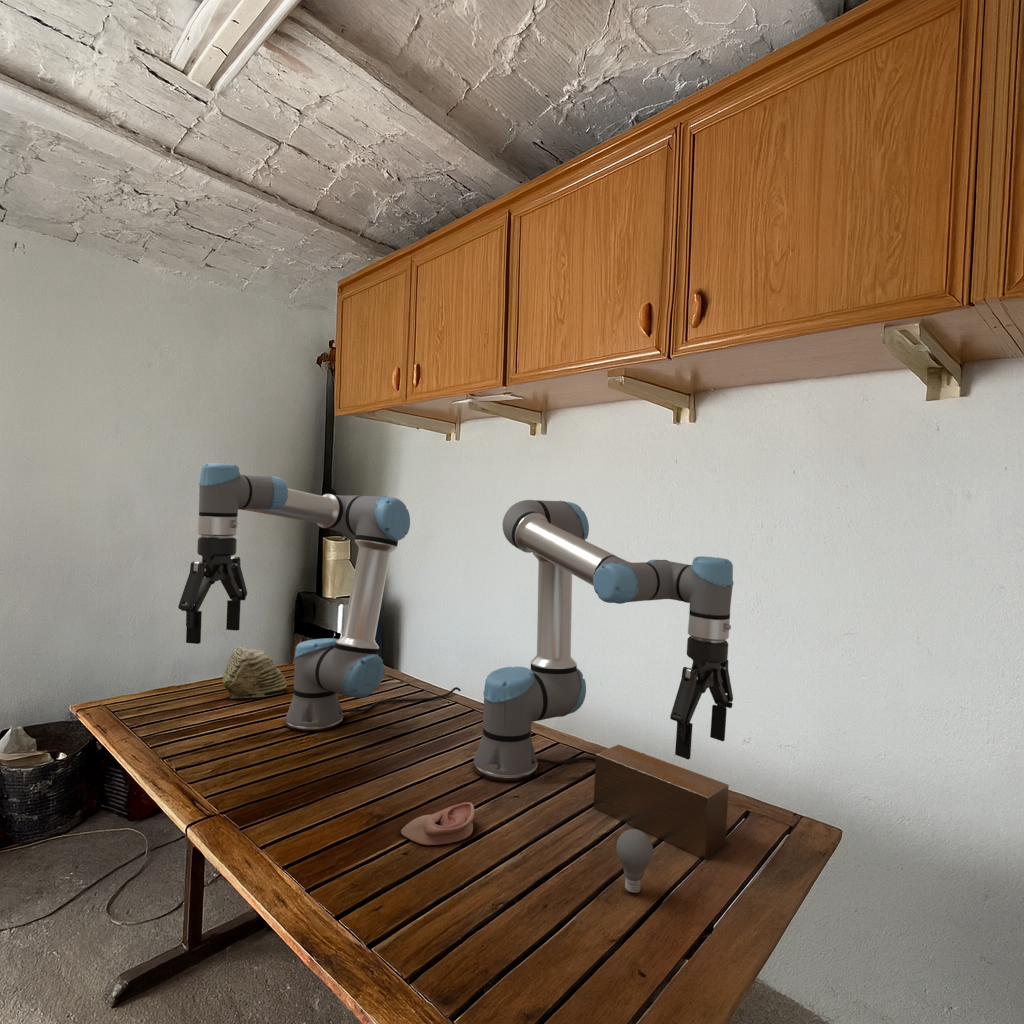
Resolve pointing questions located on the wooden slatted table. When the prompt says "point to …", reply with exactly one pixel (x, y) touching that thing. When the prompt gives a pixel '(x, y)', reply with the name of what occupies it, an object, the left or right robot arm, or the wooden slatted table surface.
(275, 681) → the fossil
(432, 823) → the anatomical model
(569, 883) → the wooden slatted table surface
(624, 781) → the box
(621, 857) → the light bulb
